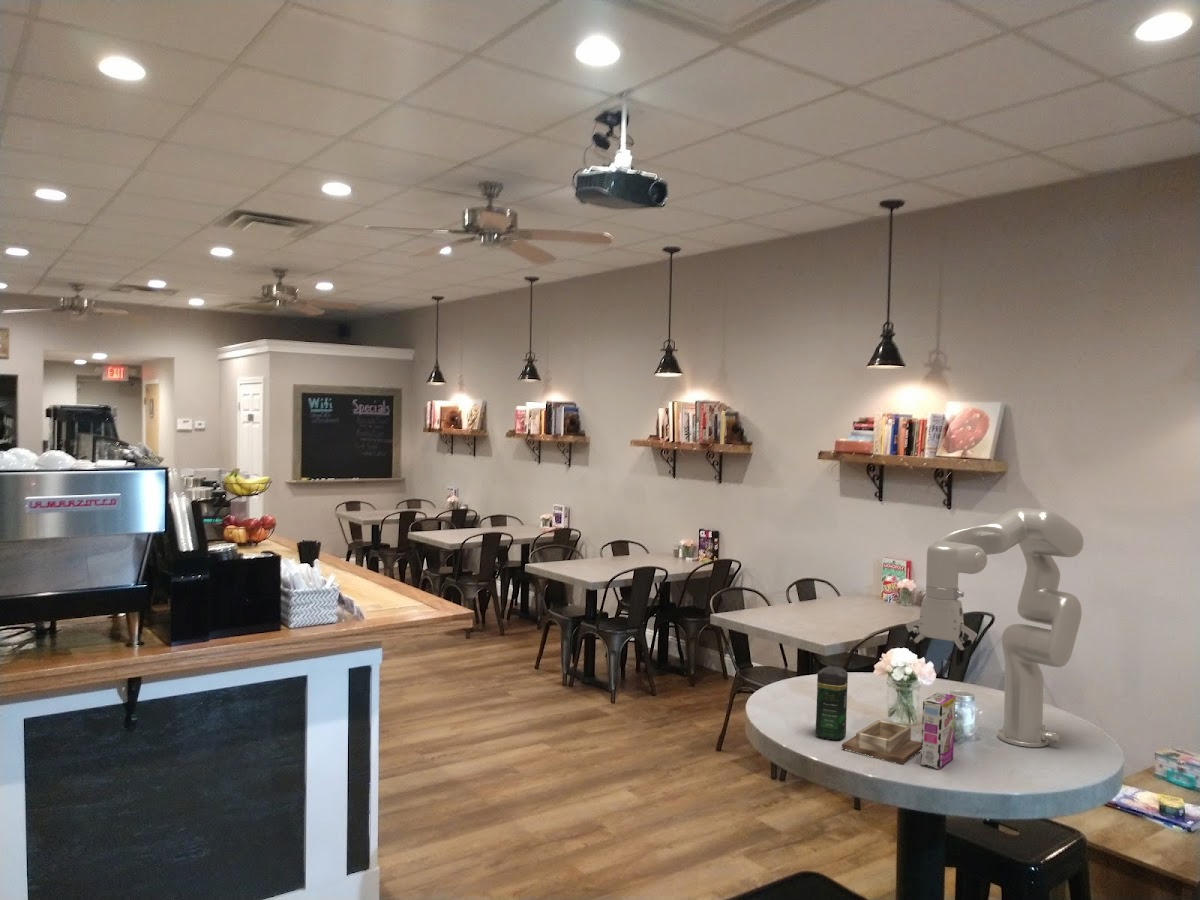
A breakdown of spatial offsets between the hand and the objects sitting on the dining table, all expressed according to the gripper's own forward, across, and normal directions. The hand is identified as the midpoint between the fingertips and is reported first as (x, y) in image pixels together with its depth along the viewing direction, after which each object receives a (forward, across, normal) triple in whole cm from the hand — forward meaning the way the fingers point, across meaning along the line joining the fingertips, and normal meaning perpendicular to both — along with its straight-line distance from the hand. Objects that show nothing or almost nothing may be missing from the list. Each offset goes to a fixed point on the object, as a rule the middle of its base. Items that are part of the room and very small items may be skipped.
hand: (939, 661), depth 220 cm
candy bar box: (+26, 0, 0) cm, 26 cm away
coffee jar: (+26, +29, -1) cm, 39 cm away
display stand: (+26, +14, 0) cm, 29 cm away
